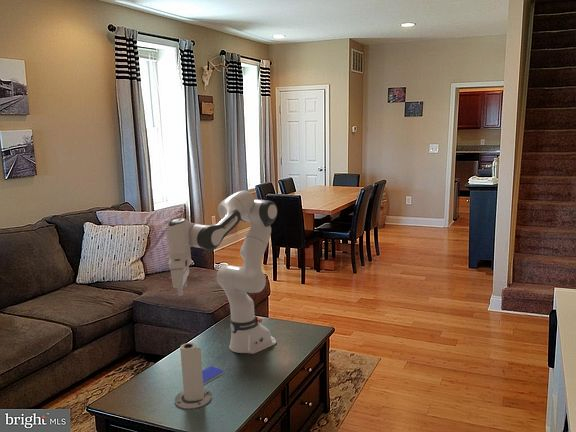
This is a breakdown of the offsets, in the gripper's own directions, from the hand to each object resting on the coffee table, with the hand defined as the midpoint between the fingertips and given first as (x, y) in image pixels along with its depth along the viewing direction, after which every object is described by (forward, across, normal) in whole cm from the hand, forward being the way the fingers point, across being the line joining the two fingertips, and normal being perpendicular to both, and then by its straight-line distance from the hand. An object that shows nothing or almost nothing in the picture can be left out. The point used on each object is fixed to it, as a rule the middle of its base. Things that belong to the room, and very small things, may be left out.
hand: (182, 291), depth 207 cm
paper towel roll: (+36, +20, +4) cm, 42 cm away
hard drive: (+38, +2, +8) cm, 39 cm away
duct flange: (+37, +19, +4) cm, 42 cm away
